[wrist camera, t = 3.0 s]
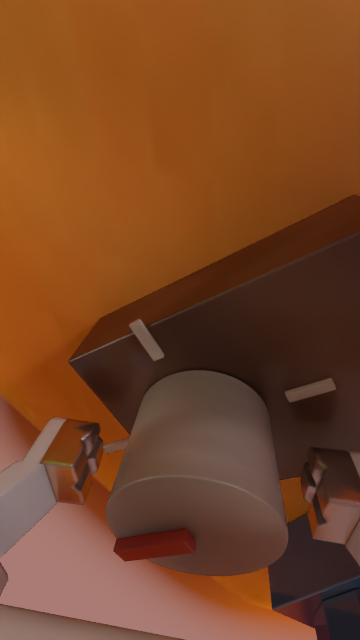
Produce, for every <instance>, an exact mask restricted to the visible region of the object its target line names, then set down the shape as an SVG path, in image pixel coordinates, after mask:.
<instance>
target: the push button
mask: <svg viewBox="0 0 360 640" xmlns="http://www.w3.org/2000/svg"><path fill="white" fill-rule="evenodd" d="M287 528H288V543H287V547H286V549H285V551H284V553H283V554H282V555H281V557H280V558H279V559H278V560H276V561H275V562H274V563H272V564H271V565H269V566H268V572H269V582H270V592H271V602H272V609H273V610H274V611H276V612H278V613H281V614H283V615H285V616H288V617H290V618H292V619H295V620H297V621H299V622H301V623H304V624H306V625H308V626H311V627H313V628H315V629H316V634H317V640H360V566H359V564H358V563H357V562H356V560H355V559H354V558H353V556H352V555H351V553H350V552H349V551H348V549H347V548H346V547H345V546H346V545H345V544H340V543H334V542H328V541H323V540H317V539H313V536H312V532H311V527H310V523H309V519H308V514H307V513H306V514H305V515H303V516H301V517H299V518H298V519H296V520H294V521H293V522H291V523H289V524H287Z"/></svg>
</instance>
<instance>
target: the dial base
mask: <svg viewBox="0 0 360 640" xmlns="http://www.w3.org/2000/svg"><path fill="white" fill-rule="evenodd" d="M68 362H69V364H70V365H71V366H72V367H73V368H74V370H75V371H76V372H77V373H78V374H79V375H80V377H81V378H82V379H83V380H84V381H85V383H86V384H87V385H88V386H89V387H90V388H91V390H92V391H93V392H94V393H95V394H96V395H97V397H98V398H99V399H100V400H101V401H102V402H103V404H104V405H105V406H106V407H107V408H108V410H109V411H110V412H111V413H112V414H113V415H114V417H115V418H116V419H117V420H118V421H119V422H120V424H121V425H122V426H123V427H124V428H125V429H126V431H127V432H128V433H129V434H131V432H132V429H133V426H134V423H135V420H136V417H137V414H138V411H139V408H140V405H141V402H142V400H143V397H144V396H145V394H146V392H147V391H148V390H149V389H150V388H151V387H152V386H153V385H154V384H155V383H156V382H158V381H159V380H161V379H163V378H165V377H167V376H169V375H172V374H175V373H179V372H184V371H192V370H205V371H213V372H218V373H222V374H226V375H228V376H231V377H234V378H236V379H238V380H240V381H242V382H243V383H245V384H246V385H248V386H249V387H251V388H252V389H253V390H254V391H255V392H256V393H257V394H258V395H259V396H260V397H261V399H262V400H263V402H264V403H265V405H266V407H267V409H268V412H269V416H270V422H271V428H272V435H273V441H274V447H275V453H276V460H277V466H278V472H279V478H280V480H284V479H289V478H295V477H300V476H301V471H302V467H303V464H305V463H306V462H308V458H307V452H308V449H309V448H310V447H319V448H329V449H339V450H345V451H354V452H360V196H359V195H352V196H350V197H348V198H346V199H344V200H342V201H340V202H338V203H336V204H334V205H332V206H330V207H328V208H326V209H324V210H321V211H319V212H317V213H315V214H313V215H311V216H309V217H307V218H305V219H303V220H301V221H299V222H297V223H295V224H293V225H291V226H289V227H287V228H285V229H282V230H280V231H278V232H276V233H274V234H272V235H270V236H268V237H266V238H264V239H262V240H260V241H258V242H256V243H254V244H252V245H250V246H248V247H246V248H243V249H241V250H239V251H237V252H235V253H233V254H231V255H229V256H227V257H225V258H223V259H221V260H219V261H217V262H215V263H213V264H211V265H209V266H207V267H204V268H202V269H200V270H198V271H196V272H194V273H192V274H190V275H188V276H186V277H184V278H182V279H180V280H178V281H176V282H174V283H172V284H170V285H167V286H165V287H163V288H161V289H159V290H157V291H155V292H153V293H151V294H149V295H147V296H145V297H143V298H141V299H139V300H137V301H135V302H133V303H131V304H128V305H126V306H124V307H122V308H120V309H118V310H116V311H114V312H112V313H110V314H108V315H106V316H104V317H102V318H100V320H99V321H98V322H97V323H96V325H95V326H94V327H93V329H92V330H91V331H90V333H89V334H88V335H87V337H86V338H85V339H84V341H83V342H82V343H81V345H80V346H79V347H78V349H77V350H76V351H75V353H74V354H73V355H72V357H71V358H70V359H69V361H68ZM128 440H129V437H128V438H125V439H122V440H118V441H115V442H112V443H108V444H105V445H103V449H104V451H105V452H106V453H107V454H108V453H112V452H115V451H119V450H123V449H126V446H127V443H128Z"/></svg>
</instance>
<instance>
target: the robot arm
mask: <svg viewBox="0 0 360 640" xmlns="http://www.w3.org/2000/svg"><path fill="white" fill-rule="evenodd" d="M100 431H101V429H100V425H99V423H94V422H87V421H80V420H73V419H65V418H57V417H53V418H52V419H50V420H49V421H48V423H47V424H46V426H45V427H44V429H43V430H42V432H41V433H40V435H39V436H38V438H37V439H36V441H35V442H34V444H33V445H32V447H31V448H30V450H29V451H28V453H27V454H26V456H25V457H24V459H23V460H22V461H16V462H15V463H13V464H12V465H10V466H9V467H7V468H6V469H4V470H3V471H1V472H0V558H1V557H2V556H3V555H4V554H5V553H6V552H7V551H8V550H9V549H10V548H11V547H12V546H14V545H15V543H17V542H18V541H19V539H21V538H22V537H23V536H24V535H25V534H26V533H27V532H28V531H29V530H30V529H31V528H32V527H33V526H34V525H35V524H36V523H37V522H38V521H39V520H40V519H41V518H43V517H44V516H45V515H46V514H47V513H48V512H49V511H50V510H51V509H52V508H53V507H54V506H55V505H56V504H57V502H62V503H71V504H80V505H84V503H85V500H86V498H87V495H88V493H89V491H90V488H91V485H92V480H91V475H93V474H94V473H95V472H96V471H97V470H98V468H99V466H100V463H101V460H102V455H103V440H102V439H101V438H100V437H99V434H100ZM307 458H308V462H306V463H305V464H303V467H302V471H301V485H302V492H303V496H304V498H305V500H306V501H307V502H308V503H309V504H310V508H309V510H308V513H307V514H308V519H309V523H310V527H311V532H312V536H313V539H317V540H323V541H328V542H334V543H340V544H345V545H346V546H345V547H346V548H347V549H348V551H349V552H350V553H351V555H352V556H353V558H354V559H355V560H356V562H357V563H358V564H359V566H360V452H354V451H345V450H339V449H329V448H319V447H310V448H309V449H308V452H307ZM7 581H8V575H7V573H6V571H5V569H4V567H3V566H2V564H1V563H0V595H1V593H2V591H3V589H4V587H5V585H6V583H7ZM0 640H184V639H179V638H174V637H169V636H164V635H158V634H153V633H148V632H143V631H137V630H132V629H127V628H121V627H117V626H112V625H107V624H101V623H96V622H91V621H86V620H81V619H75V618H70V617H64V616H60V615H55V614H50V613H44V612H39V611H34V610H28V609H24V608H18V607H13V606H8V605H3V604H0Z"/></svg>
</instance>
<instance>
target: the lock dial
mask: <svg viewBox="0 0 360 640" xmlns="http://www.w3.org/2000/svg"><path fill="white" fill-rule="evenodd" d="M106 520H107V523H108V526H109V528H110V529H111V531H112V533H113V534H114V535H115V537H116V538H117V540H116V543H115V547H114V552H115V553H116V554H117V555H118V556H120V557H121V558H122V559H123V560H124V561H133V560H141V559H147V560H149V561H151V562H153V563H155V564H158V565H160V566H163V567H166V568H170V569H173V570H177V571H181V572H185V573H190V574H197V575H207V576H232V575H240V574H246V573H251V572H254V571H257V570H260V569H263V568H265V567H267V566H269V565H271V564H272V563H274V562H275V561H276V560H278V559H279V558H280V557H281V555H282V554H283V553H284V551H285V549H286V547H287V543H288V528H287V522H286V515H285V509H284V503H283V497H282V491H281V484H280V478H279V472H278V466H277V460H276V453H275V447H274V441H273V435H272V428H271V422H270V416H269V412H268V409H267V407H266V405H265V403H264V402H263V400H262V399H261V397H260V396H259V395H258V394H257V393H256V392H255V391H254V390H253V389H252V388H251V387H249V386H248V385H246V384H245V383H243V382H242V381H240V380H238V379H236V378H234V377H231V376H228V375H226V374H222V373H218V372H213V371H205V370H192V371H184V372H179V373H175V374H172V375H169V376H167V377H165V378H163V379H161V380H159V381H158V382H156V383H155V384H154V385H153V386H152V387H151V388H150V389H149V390H148V391H147V392H146V394H145V396H144V397H143V400H142V402H141V405H140V408H139V411H138V414H137V417H136V420H135V423H134V426H133V429H132V432H131V434H130V437H129V440H128V443H127V446H126V449H125V452H124V455H123V458H122V461H121V464H120V467H119V470H118V473H117V476H116V479H115V482H114V485H113V487H112V490H111V493H110V496H109V499H108V503H107V505H106Z"/></svg>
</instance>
